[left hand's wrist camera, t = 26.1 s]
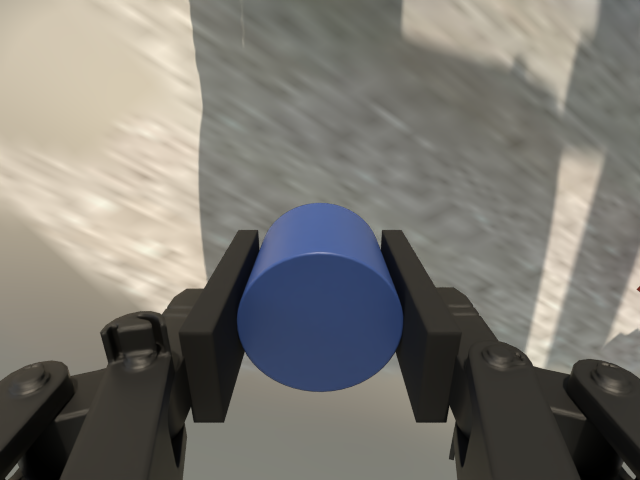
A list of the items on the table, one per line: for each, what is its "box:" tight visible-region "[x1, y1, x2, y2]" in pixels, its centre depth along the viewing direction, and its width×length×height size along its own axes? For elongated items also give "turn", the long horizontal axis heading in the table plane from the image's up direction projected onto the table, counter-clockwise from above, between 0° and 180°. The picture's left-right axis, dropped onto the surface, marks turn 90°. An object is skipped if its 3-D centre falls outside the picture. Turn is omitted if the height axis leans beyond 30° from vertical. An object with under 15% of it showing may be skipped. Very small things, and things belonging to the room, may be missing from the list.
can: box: [237, 203, 403, 392], centre depth 13 cm, size 5×5×5 cm
